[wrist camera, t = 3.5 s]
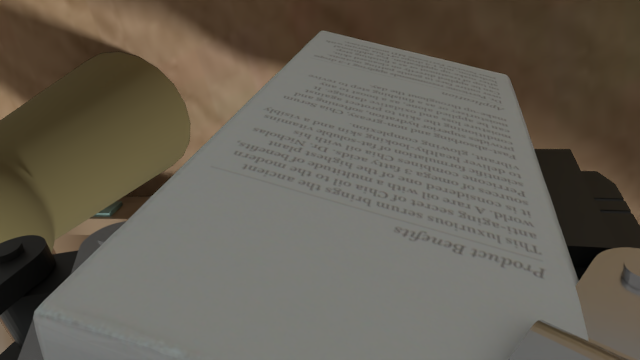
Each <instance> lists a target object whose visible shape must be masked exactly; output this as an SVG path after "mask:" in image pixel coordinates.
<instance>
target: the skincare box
mask: <svg viewBox="0 0 640 360" xmlns="http://www.w3.org/2000/svg"><path fill="white" fill-rule="evenodd" d="M578 282H579V280H578V277H577V274H576V271H575V269H574V266H573V263H572V260H571V257H570V254H569V251H568V248H567V245H566V242H565V239H564V236H563V234H562V230H561V228H560V225H559V222H558V219H557V215H556V212H555V209H554V206H553V203H552V200H551V197H550V194H549V192H548V189H547V186H546V183H545V180H544V177H543V175H542V172H541V169H540V166H539V163H538V160H537V157H536V154H535V150H534V147H533V144H532V142H531V139H530V136H529V133H528V130H527V127H526V124H525V121H524V118H523V115H522V112H521V109H520V107H519V103H518V101H517V98H516V95H515V92H514V89H513V86H512V83H511V81H510V78H509V77H508V76H507V75H505V74H501V73H497V72H492V71H488V70H484V69H480V68H476V67H472V66H468V65H464V64H460V63H456V62H452V61H448V60H444V59H439V58H435V57H431V56H427V55H423V54H419V53H415V52H410V51H406V50H401V49H397V48H393V47H389V46H386V45H381V44H377V43H373V42H368V41H364V40H360V39H356V38H352V37H348V36H344V35H340V34H335V33H332V32H328V31H320V32H319V33H318V34H317V35H316V36H315V37H314V38H313V39H312V40H311V41H309V42H308V43H307V44H306V45H305V46H304V47H303V48H302V49H301V50H300V51H299V52H298V53H297V54H296V55H295V56H294V57H293V58H292V59H291V60H290V61H289V62H288V63H287V64H286V65H285V66H284V67H283V68H282V69H281V70H280V71H279V72H278V73H277V74H276V75H275V76H274V77H273V78H272V79H271V80H270V81H269V82H268V83H266V84H265V85H264V86H263V87H262V88H261V89H260V90H259V91H258V92H257V93H256V94H255V95H254V96H253V97H252V98H251V99H250V100H249V101H248V102H247V103H246V104H245V105H244V106H243V107H242V108H241V109H240V110H239V111H238V112H237V113H236V114H235V115H234V116H233V117H232V118H231V119H230V120H229V121H228V122H227V123H226V124H225V125H224V126H223V127H222V128H221V129H220V130H219V131H218V132H217V133H216V134H215V135H214V136H213V137H212V138H211V139H210V140H209V141H208V142H207V143H206V144H204V145H203V146H202V147H201V148H200V149H199V150H198V151H197V152H196V153H195V154H194V155H193V156H192V157H191V158H190V159H189V160H188V161H187V162H186V163H185V164H184V165H183V166H182V167H181V168H180V169H179V170H178V171H177V172H176V173H175V174H174V175H173V176H172V177H171V178H170V179H169V180H168V181H167V182H166V183H165V184H164V185H163V186H162V187H161V188H160V189H159V190H157V191H156V192H155V193H154V194H153V195H152V196H151V197H150V198H149V199H148V200H147V201H146V202H145V203H144V204H143V205H142V206H141V207H140V208H139V209H138V210H137V211H136V212H135V213H134V214H133V215H132V216H131V217H130V218H129V219H128V220H127V221H126V222H125V223H124V224H123V225H122V226H121V227H120V228H119V229H118V230H117V231H115V232H114V233H113V234H112V235H111V236H110V237H109V238H108V239H107V240H106V241H105V242H104V243H103V244H102V245H101V246H100V247H99V248H98V249H97V250H96V251H95V252H94V253H93V254H92V255H91V256H90V257H89V258H88V259H87V260H86V261H85V262H84V263H83V264H82V265H80V266H79V267H78V268H77V269H76V270H75V271H74V272H73V273H72V274H71V275H70V276H69V277H68V278H67V279H66V280H65V281H64V282H63V283H62V284H61V285H60V286H59V287H58V288H57V289H56V290H54V291H53V292H52V293H51V294H50V295H49V296H48V297H47V298H46V299H45V300H44V301H43V302H42V303H41V304H40V305H39V307H38V308H37V309H36V310H35V311H34V316H33V320H34V325H35V330H36V334H37V338H38V341H39V345H40V348H41V352H42V355H43V359H44V360H508V359H509V358H510V356H511V355H512V354H513V352H514V351H515V349H516V348H517V347H518V345H519V344H520V342H521V341H522V339H523V338H524V337H525V335H526V334H527V332H528V331H529V330H530V328H531V327H532V326H533V325H534V323H535V322H537V321H538V320H543V321H546V322H548V323H550V324H552V325H554V326H556V327H559V328H561V329H563V330H565V331H567V332H570V333H572V334H574V335H576V336H578V337H581V338H583V339H585V340H587V341H588V335H587V331H586V326H585V322H584V318H583V314H582V309H581V305H580V301H579V297H578V294H577V291H576V287H575V286H576V285H577V283H578Z"/></svg>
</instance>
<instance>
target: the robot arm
mask: <svg viewBox="0 0 640 360" xmlns="http://www.w3.org/2000/svg"><path fill="white" fill-rule="evenodd" d="M534 150H535V154H536V157H537V160H538V163H539V166H540V169H541V172H542V175H543V177H544V180H545V183H546V186H547V189H548V192H549V194H550V197H551V200H552V203H553V206H554V209H555V212H556V215H557V219H558V222H559V225H560V228H561V230H562V234H563V236H564V239H565V242H566V245H567V248H568V251H569V254H570V257H571V260H572V263H573V266H574V269H575V271H576V274H577V277H578V280H579V282H578V283H577V285H576V286H575V287H576V291H577V294H578V297H579V301H580V305H581V309H582V314H583V318H584V322H585V326H586V331H587V335H588V341H587V340H585V339H583V338H581V337H578V336H576V335H574V334H572V333H570V332H567V331H565V330H563V329H561V328H559V327H556V326H554V325H552V324H550V323H548V322H546V321H543V320H538V321H537V322H535V323H534V325H533V326H532V327H531V328H530V330H529V331H528V332H527V334H526V335H525V337H524V338H523V339H522V341H521V342H520V344H519V345H518V347H517V348H516V349H515V351H514V352H513V354H512V355H511V356H510V358H509V359H508V360H640V226H639V224H638V222H637V220H636V219H635V217H634V215H633V214H631V210H630V209H629V207H628V205H627V203H626V202H625V201H623V199H624V198H623V197H622V195H621V193H620V192H619V190H618V188H617V186H616V185H615V184H614V183H613V182H611V181H610V180H609V179H607V178H606V177H604V176H603V175H601V174H600V173H598V172H597V171H581V170H580V168H579V166H578V164H577V162H576V160H575V158H574V156H573V154H572V152H571V150H570V149H534ZM125 222H126V221H124V222H119V223H115V224H111V225H108V226H106V227H104V228H101V229H99V230H97V231H96V232H94V233H93V234H91V235H90V236H88V237H87V238H86V239H85V240H84V241H83V242H82V244H81V245H80V247H79V250H77V251H71V252H64V253H58V254H52V253H51V251H50V249H49V247H48V245H47V243H46V241H45V239H44V238H43V237H41V236H38V235H26V236H20V237H16V238H13V239H10V240H7V241H5V242H2V243H0V317H1V319H2V320H3V322H4V324H5V325H6V327H7V328H8V330H9V332H10V333H11V335H12V336H13V338H14V340H15V341H14V343H12V344H11V345H10V346H9V347H8V348H7V349H6V350H5V351H4V352H3V353H2V354H0V360H44V359H43V355H42V352H41V348H40V345H39V341H38V338H37V334H36V330H35V325H34V320H33V316H34V311H35V310H36V309H37V308H38V307H39V305H40V304H41V303H42V302H43V301H44V300H45V299H46V298H47V297H48V296H49V295H50V294H51V293H52V292H53V291H54V290H56V289H57V288H58V287H59V286H60V285H61V284H62V283H63V282H64V281H65V280H66V279H67V278H68V277H69V276H70V275H71V274H72V273H73V272H74V271H75V270H76V269H77V268H78V267H79V266H80V265H82V264H83V263H84V262H85V261H86V260H87V259H88V258H89V257H90V256H91V255H92V254H93V253H94V252H95V251H96V250H97V249H98V248H99V247H100V246H101V245H102V244H103V243H104V242H105V241H106V240H107V239H108V238H109V237H110V236H111V235H112V234H113V233H114V232H115V231H117V230H118V229H119V228H120V227H121V226H122V225H123V224H124V223H125Z"/></svg>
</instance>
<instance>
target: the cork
mask: <svg viewBox="0 0 640 360" xmlns="http://www.w3.org/2000/svg"><path fill="white" fill-rule="evenodd" d="M189 141H190V120H189V116H188V113H187V109H186V105H185V103H184V101H183V99H182V98H181V96H180V94H179V93H178V91H177V89H176V87H175V86H174V84H173V83H172V82H171V81H170V80H169V79H168V78H167V77H166V76H165V75H164V74H163V73H162V72H161V71H160V70H159V69H158V68H156V67H155V66H153V65H151V64H150V63H148V62H146V61H145V60H143V59H141V58H140V57H137V56H133V55H129V54H126V53H122V52H110V53H101V54H99V55H97V56H95V57H93V58H91V59H89V60H88V61H86V62H84V63H83V64H82V65H80V66H79V67H77V68H76V69H74V70H73V71H71V72H70V73H68V74H67V75H66V76H64V77H63V78H61V79H60V80H58V81H57V82H55V83H54V84H52V85H51V86H50V87H48V88H47V89H45V90H44V91H42V92H41V93H39V94H38V95H36V96H35V97H34V98H32V99H31V100H29V101H28V102H26V103H25V104H23V105H22V106H21V107H19V108H18V109H16V110H15V111H13V112H12V113H10V114H9V115H7V116H6V117H5V118H3V119H2V120H0V243H2V242H5V241H7V240H10V239H13V238H16V237H20V236H26V235H38V236H41V237H43V238H44V239H45V241H46V243H47V245H48V247H49V249H50V251H51V253H52V250H53V246H54V242H55V240H56V239H58V238H59V237H61V236H62V235H64V234H65V233H67V232H69V231H70V230H72V229H73V228H75V227H76V226H78V225H80V224H81V223H83V222H84V221H86V220H87V219H89V218H91V217H92V216H94V215H95V214H97V213H99V212H100V211H102V210H103V209H105V208H106V207H108V206H110V205H111V204H113V203H114V202H116V201H117V200H119V199H121V198H122V197H124V196H125V195H127V194H128V193H130V192H132V191H133V190H135V189H136V188H138V187H139V186H141V185H143V184H144V183H146V182H147V181H149V180H150V179H152V178H154V177H155V176H157V175H158V174H160V173H162V172H163V171H165V170H166V169H168V168H169V167H171V166H173V165H174V164H175V163H176V162H177V161H178V160H179V159H180V158H181V157H182V156H183V155H184V153H185V151H186V148H187V146H188V144H189Z"/></svg>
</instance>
